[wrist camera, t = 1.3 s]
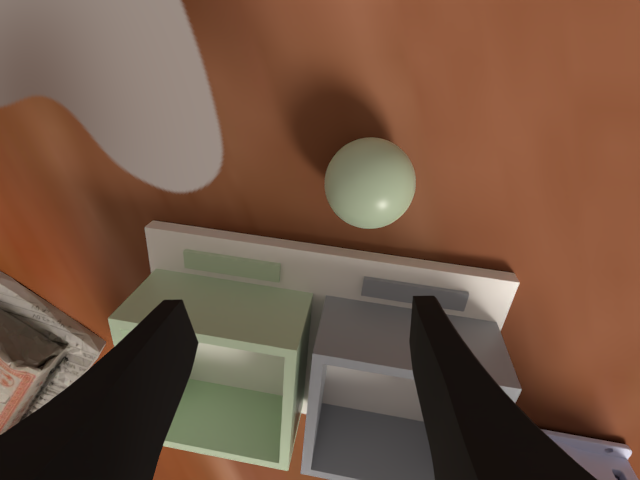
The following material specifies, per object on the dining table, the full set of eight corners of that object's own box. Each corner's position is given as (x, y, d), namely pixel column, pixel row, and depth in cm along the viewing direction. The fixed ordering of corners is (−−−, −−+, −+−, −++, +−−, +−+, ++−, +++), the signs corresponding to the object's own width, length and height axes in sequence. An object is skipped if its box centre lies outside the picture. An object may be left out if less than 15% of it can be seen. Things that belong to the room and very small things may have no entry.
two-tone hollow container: (514, 272, 23) (552, 345, 18) (454, 429, 29) (469, 516, 24) (152, 220, 25) (89, 271, 20) (173, 378, 31) (131, 447, 26)
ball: (420, 133, 20) (428, 158, 16) (404, 212, 22) (408, 251, 18) (334, 123, 20) (322, 144, 17) (327, 202, 22) (314, 237, 19)
